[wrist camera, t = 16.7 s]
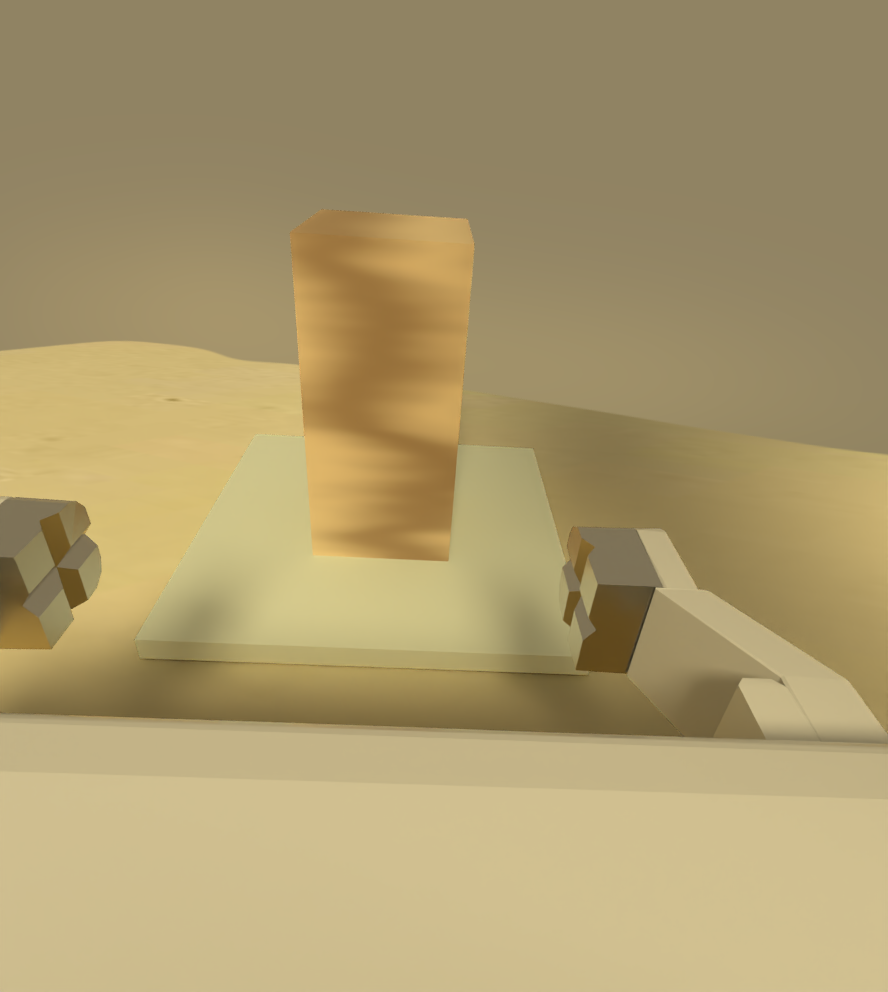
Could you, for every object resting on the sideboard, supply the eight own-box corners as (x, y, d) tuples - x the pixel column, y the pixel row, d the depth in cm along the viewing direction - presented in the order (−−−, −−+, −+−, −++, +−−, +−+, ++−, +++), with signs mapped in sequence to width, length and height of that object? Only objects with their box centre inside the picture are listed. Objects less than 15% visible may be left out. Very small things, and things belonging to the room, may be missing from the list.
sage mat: (531, 461, 31) (533, 448, 30) (588, 675, 19) (593, 657, 18) (257, 447, 30) (255, 433, 30) (139, 658, 18) (134, 639, 18)
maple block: (447, 490, 26) (467, 219, 20) (448, 561, 22) (474, 244, 16) (333, 485, 26) (321, 209, 20) (312, 555, 22) (289, 232, 16)
